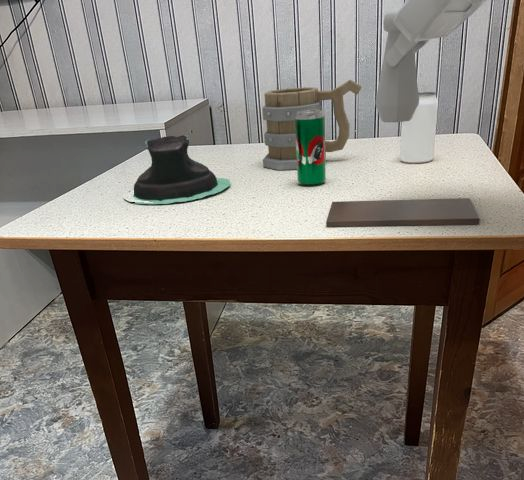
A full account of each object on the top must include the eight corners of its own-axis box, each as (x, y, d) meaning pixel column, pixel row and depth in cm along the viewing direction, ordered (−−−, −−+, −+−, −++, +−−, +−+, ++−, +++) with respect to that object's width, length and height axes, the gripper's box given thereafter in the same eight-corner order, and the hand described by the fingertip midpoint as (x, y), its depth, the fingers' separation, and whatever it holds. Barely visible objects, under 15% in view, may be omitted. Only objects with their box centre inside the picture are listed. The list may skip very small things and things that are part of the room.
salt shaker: (366, 122, 74) (367, 12, 68) (392, 116, 77) (396, 10, 71) (400, 124, 70) (405, 7, 64) (426, 118, 73) (434, 5, 67)
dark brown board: (469, 203, 79) (469, 197, 78) (479, 224, 70) (480, 218, 70) (332, 206, 83) (332, 201, 82) (326, 227, 74) (326, 221, 74)
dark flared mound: (113, 183, 106) (209, 170, 112) (137, 250, 97) (240, 232, 103) (105, 113, 93) (214, 103, 100) (132, 183, 85) (249, 167, 91)
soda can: (329, 180, 98) (328, 108, 92) (320, 187, 94) (318, 112, 88) (303, 179, 100) (300, 109, 94) (293, 186, 96) (289, 113, 90)
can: (404, 156, 110) (407, 92, 104) (436, 157, 107) (441, 90, 101) (396, 163, 105) (399, 96, 99) (430, 164, 102) (435, 95, 96)
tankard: (260, 171, 109) (253, 89, 101) (270, 158, 120) (265, 84, 112) (359, 166, 105) (360, 81, 97) (361, 154, 116) (362, 76, 108)
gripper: (487, -25, 54) (387, 88, 63) (510, -17, 69) (427, 72, 78) (445, -73, 53) (351, 47, 62) (478, -54, 69) (398, 40, 78)
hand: (394, 61), depth 70 cm, fingers closed on salt shaker, 3 cm apart
